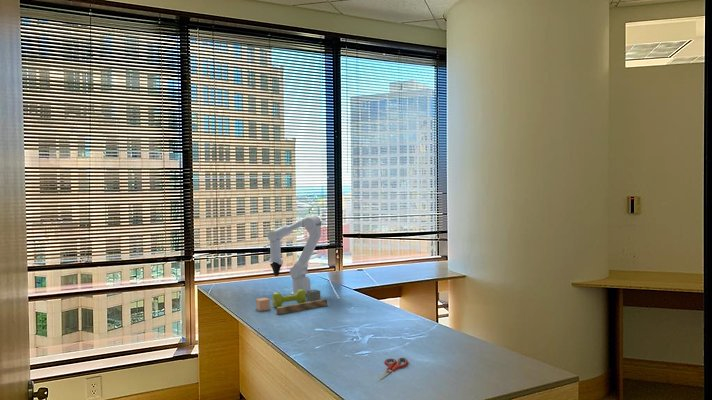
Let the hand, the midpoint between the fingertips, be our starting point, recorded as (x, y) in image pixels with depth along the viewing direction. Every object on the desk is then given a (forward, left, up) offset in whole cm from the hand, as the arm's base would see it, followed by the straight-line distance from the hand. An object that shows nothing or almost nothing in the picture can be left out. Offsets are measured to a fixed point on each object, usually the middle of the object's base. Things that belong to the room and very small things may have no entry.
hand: (276, 275), depth 278 cm
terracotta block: (+22, +32, -10) cm, 40 cm away
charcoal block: (-6, +32, -10) cm, 34 cm away
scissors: (+22, +136, -10) cm, 138 cm away
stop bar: (+7, +46, -9) cm, 47 cm away
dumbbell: (+8, +33, -10) cm, 36 cm away
